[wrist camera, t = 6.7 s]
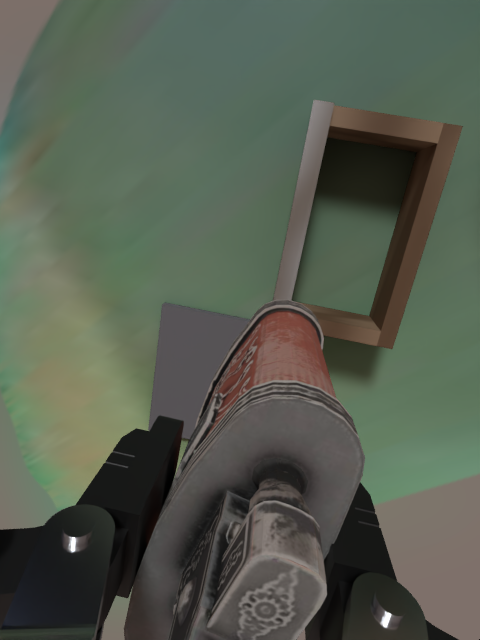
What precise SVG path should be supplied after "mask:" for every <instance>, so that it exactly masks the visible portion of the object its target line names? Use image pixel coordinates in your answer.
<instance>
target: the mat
mask: <svg viewBox="0 0 480 640" xmlns="http://www.w3.org/2000/svg"><path fill="white" fill-rule="evenodd" d="M249 321H250V319H245V318H240V317H235V316H230V315H225V314H220V313H215V312H210V311H205V310H200V309H195V308H190V307H185V306H180V305H175V304H169V303H164V304H162V312H161V321H160V330H159V339H158V348H157V357H156V366H155V375H154V384H153V393H152V402H151V411H150V420H149V429H148V430H150V429H151V427H152V426H153V424H154V422H155V421H156V419H157V417H158V416H159V415H161V416H165V417H169V418H174V419H178V420H183V421H184V427H183V433H182V438H186V439H190V437H191V435H192V433H193V431H194V430H195V426H196V422H197V418H198V416H199V413H200V411H201V408H202V405H203V403H204V400H205V398H206V395H207V393H208V390H209V387H210V385H211V382H212V380H213V377H214V375H215V373H216V371H217V369H218V368H219V366H220V364H221V363H222V361H223V359H224V357H225V356H226V354H227V352H228V350H229V349H230V347H231V345H232V344H233V342H234V340H235V339H236V338H237V337H238V335H239V334H240V333H241V331H242V330H243V329H244V327H245V326H246V325H247V323H248V322H249Z"/></svg>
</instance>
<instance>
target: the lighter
mask: <svg viewBox="0 0 480 640" xmlns="http://www.w3.org/2000/svg"><path fill="white" fill-rule="evenodd" d="M323 342H324V336H323V333H322V330H321V327H320V324H319V321H318V319H317V318H316V316H315V315H314V314H313V313H312V311H311V310H310V309H308V308H307V307H305V306H304V305H302V304H301V303H297V302H294V301H291V300H274V301H272V302H269V303H266V304H264V305H263V306H262V307H261V308H260V309H259V310H257V312H256V313H255V314H254V316H253V317H252V318H251V320H250V321H249V322H248V323H247V325H246V326H245V327H244V329H243V330H242V331H241V333H240V334H239V335H238V337H237V338H236V339H235V340H234V342H233V344H232V345H231V347H230V349H229V350H228V352H227V354H226V356H225V357H224V359H223V361H222V363H221V364H220V366H219V368H218V369H217V371H216V373H215V375H214V377H213V380H212V382H211V385H210V387H209V390H208V393H207V395H206V398H205V400H204V403H203V405H202V408H201V411H200V413H199V416H198V418H197V422H196V426H195V430H194V431H193V433H192V435H191V437H190V439H189V442H188V445H187V447H186V450H185V452H184V455H183V457H182V460H181V463H180V465H179V468H178V470H177V473H176V475H175V478H174V481H173V483H172V486H171V488H170V491H169V493H168V496H167V499H166V501H165V503H164V505H163V508H162V511H161V513H160V516H159V518H158V521H157V523H156V526H155V529H154V531H153V534H152V536H151V539H150V541H149V544H148V547H147V549H146V552H145V554H144V557H143V559H142V562H141V565H140V567H139V570H138V572H137V575H136V577H135V581H134V584H133V589H132V594H131V598H130V603H129V608H128V613H127V617H126V622H125V627H124V636H125V640H297V638H298V637H299V635H300V634H301V632H302V631H303V630H304V629H305V627H306V626H307V625H308V623H309V622H310V621H311V619H312V618H313V617H314V615H315V614H316V613H317V611H318V610H319V609H320V607H321V606H322V604H323V602H324V600H325V598H326V596H327V584H326V576H325V568H324V559H325V557H326V556H327V554H328V552H329V549H330V546H331V544H334V542H335V540H336V539H337V536H338V534H339V531H340V529H341V527H342V524H343V522H344V519H345V517H346V515H347V512H348V510H349V507H350V505H351V502H352V500H353V498H354V495H355V493H356V490H357V488H358V485H359V483H360V481H361V478H362V476H363V469H364V462H365V456H364V453H363V450H362V447H361V443H360V440H359V437H358V434H357V431H356V428H355V425H354V423H353V420H352V417H351V415H350V414H349V413H348V412H347V410H346V409H345V408H344V407H343V405H342V404H341V403H340V402H339V400H338V399H336V396H335V392H334V389H333V386H332V382H331V379H330V376H329V372H328V369H327V366H326V362H325V359H324V356H323V352H322V349H323Z"/></svg>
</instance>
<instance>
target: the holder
mask: <svg viewBox="0 0 480 640" xmlns="http://www.w3.org/2000/svg"><path fill="white" fill-rule="evenodd" d="M462 127H463V126H458V125H452V124H446V123H440V122H433V121H427V120H421V119H415V118H409V117H402V116H396V115H390V114H384V113H378V112H371V111H365V110H359V109H353V108H347V107H340V106H334V103H332V102H325V101H319V100H314V102H313V107H312V112H311V116H310V121H309V126H308V131H307V136H306V141H305V146H304V151H303V156H302V161H301V166H300V170H299V175H298V180H297V185H296V190H295V195H294V200H293V205H292V210H291V215H290V219H289V224H288V229H287V234H286V239H285V244H284V249H283V254H282V259H281V264H280V269H279V273H278V278H277V283H276V288H275V293H274V298H273V301H274V300H291V299H292V295H293V290H294V286H295V281H296V277H297V272H298V267H299V263H300V258H301V254H302V249H303V245H304V240H305V235H306V231H307V226H308V222H309V217H310V213H311V208H312V203H313V199H314V194H315V190H316V185H317V181H318V176H319V171H320V167H321V162H322V158H323V153H324V149H325V144H326V140H327V137H328V138H334V139H340V140H346V141H352V142H358V143H364V144H370V145H376V146H382V147H388V148H394V149H400V150H406V151H412V152H417V153H416V156H415V160H414V163H413V167H412V170H411V173H410V177H409V180H408V184H407V187H406V191H405V194H404V198H403V201H402V205H401V208H400V212H399V215H398V219H397V222H396V226H395V229H394V233H393V236H392V239H391V243H390V246H389V250H388V253H387V257H386V260H385V264H384V267H383V271H382V274H381V278H380V281H379V285H378V288H377V292H376V295H375V298H374V302H373V305H372V309H371V312H370V316H366V315H361V314H356V313H350V312H345V311H340V310H335V309H330V308H325V307H320V306H314V305H309V304H304V303H301V304H302V305H304V306H305V307H307V308H308V309H310V310H311V311H312V313H313V314H314V315H315V316H316V318H317V319H318V321H319V324H320V327H321V330H322V333H323V335H324V336H329V337H334V338H339V339H344V340H349V341H354V342H359V343H364V344H369V345H374V346H379V347H384V348H389V349H392V348H393V345H394V342H395V339H396V336H397V333H398V330H399V326H400V323H401V320H402V317H403V314H404V311H405V307H406V304H407V301H408V298H409V295H410V292H411V288H412V285H413V282H414V279H415V276H416V273H417V269H418V266H419V263H420V260H421V257H422V254H423V250H424V247H425V244H426V241H427V238H428V235H429V231H430V228H431V225H432V222H433V219H434V216H435V212H436V209H437V206H438V203H439V200H440V197H441V194H442V190H443V187H444V184H445V181H446V178H447V175H448V171H449V168H450V165H451V162H452V159H453V156H454V152H455V149H456V146H457V143H458V140H459V137H460V133H461V130H462ZM297 303H299V302H297Z"/></svg>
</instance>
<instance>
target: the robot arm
mask: <svg viewBox="0 0 480 640" xmlns="http://www.w3.org/2000/svg"><path fill="white" fill-rule="evenodd" d="M183 427H184V421H183V420H178V419H174V418H169V417H165V416H161V415H159V416H158V417H157V419H156V421H155V422H154V424H153V426H152V427H151V429H150V431H145V430H141V429H135V430H133V431H131V432H130V433H128V434H127V435H125V436H123V437H122V438H121V440H120V441H119V442H118V444H117V445H116V447H115V448H114V450H113V453H111V454H110V456H109V457H108V458H107V460H106V463H104V464H103V466H102V467H101V469H100V470H99V472H98V473H97V475H96V476H95V477H94V479H93V480H92V482H91V483H90V485H89V486H88V488H87V489H86V491H85V492H84V493H83V495H82V496H81V498H80V499H79V501H78V502H77V504H76V505H75V506H71V507H68V508H65V509H63V510H61V511H59V512H57V513H56V514H55V515H53V516H52V517H51V518H50V519H49V520H48V521H47V522H46V523H45V525H44V526H40V527H35V528H24V529H6V530H0V640H101V638H102V633H103V627H104V621H105V619H106V617H107V615H108V612H109V610H110V608H111V606H112V603H113V601H114V598H115V596H116V595H117V596H121V597H125V598H128V597H129V594H130V592H131V589H132V587H133V584H134V581H135V577H136V575H137V572H138V570H139V567H140V565H141V562H142V559H143V557H144V554H145V552H146V549H147V547H148V544H149V541H150V539H151V536H152V534H153V531H154V529H155V526H156V523H157V521H158V518H159V516H160V513H161V511H162V508H163V505H164V503H165V501H166V499H167V496H168V493H169V491H170V488H171V486H172V483H173V480H174V476H175V472H176V468H177V462H178V456H179V451H180V445H181V439H182V433H183ZM324 568H325V576H326V584H327V596H326V598H325V600H324V602H323V604H322V606H321V607H320V609H319V610H318V611H317V613H316V614H315V615H314V617H313V618H312V619H311V621H310V622H309V623H308V625H307V626H306V627H305V634H306V640H458V639H456V638H455V637H453V636H451V635H449V634H447V633H446V632H444V631H442V630H440V629H438V628H437V627H435V626H433V625H432V624H431V623H429V622H428V621H427V620H425V617H424V614H423V611H422V609H421V607H420V606H419V604H418V602H417V601H416V599H415V598H414V597H413V596H412V594H411V593H409V591H408V590H407V589H406V588H404V587H403V586H402V585H401V584H400V583H398V582H397V579H396V576H395V573H394V570H393V567H392V564H391V560H390V557H389V554H388V551H387V547H386V544H385V541H384V538H383V535H382V531H381V528H379V522H378V519H377V515H376V514H375V509H374V506H373V503H372V500H371V496H370V494H369V493H368V492H367V490H366V489H365V488H364V486H363V485H362V484H361V483H359V485H358V488H357V490H356V493H355V495H354V498H353V500H352V502H351V505H350V507H349V510H348V512H347V515H346V517H345V519H344V522H343V524H342V527H341V529H340V531H339V534H338V536H337V539H336V540H335V542H334V544H331V546H330V549H329V552H328V554H327V556H326V557H325V559H324ZM479 640H480V639H479Z"/></svg>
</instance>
